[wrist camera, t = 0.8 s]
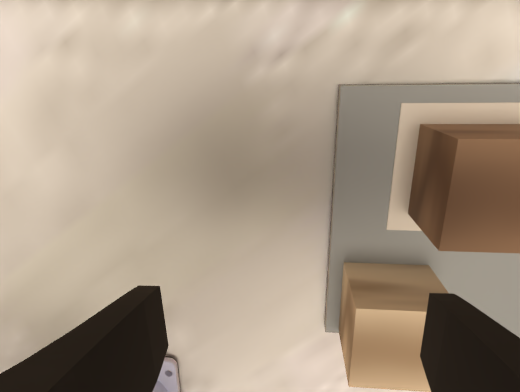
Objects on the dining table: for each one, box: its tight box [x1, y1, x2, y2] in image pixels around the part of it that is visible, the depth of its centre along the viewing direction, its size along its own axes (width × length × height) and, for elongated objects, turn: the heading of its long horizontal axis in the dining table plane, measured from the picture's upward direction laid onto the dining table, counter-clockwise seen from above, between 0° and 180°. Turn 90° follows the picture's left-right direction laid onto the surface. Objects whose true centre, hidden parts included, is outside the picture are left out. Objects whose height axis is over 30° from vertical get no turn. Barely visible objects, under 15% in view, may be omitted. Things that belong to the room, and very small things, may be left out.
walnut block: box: [408, 124, 520, 254], centre depth 15 cm, size 4×4×4 cm
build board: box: [325, 83, 520, 338], centre depth 18 cm, size 14×11×1 cm
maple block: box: [339, 262, 448, 392], centre depth 18 cm, size 4×4×4 cm
